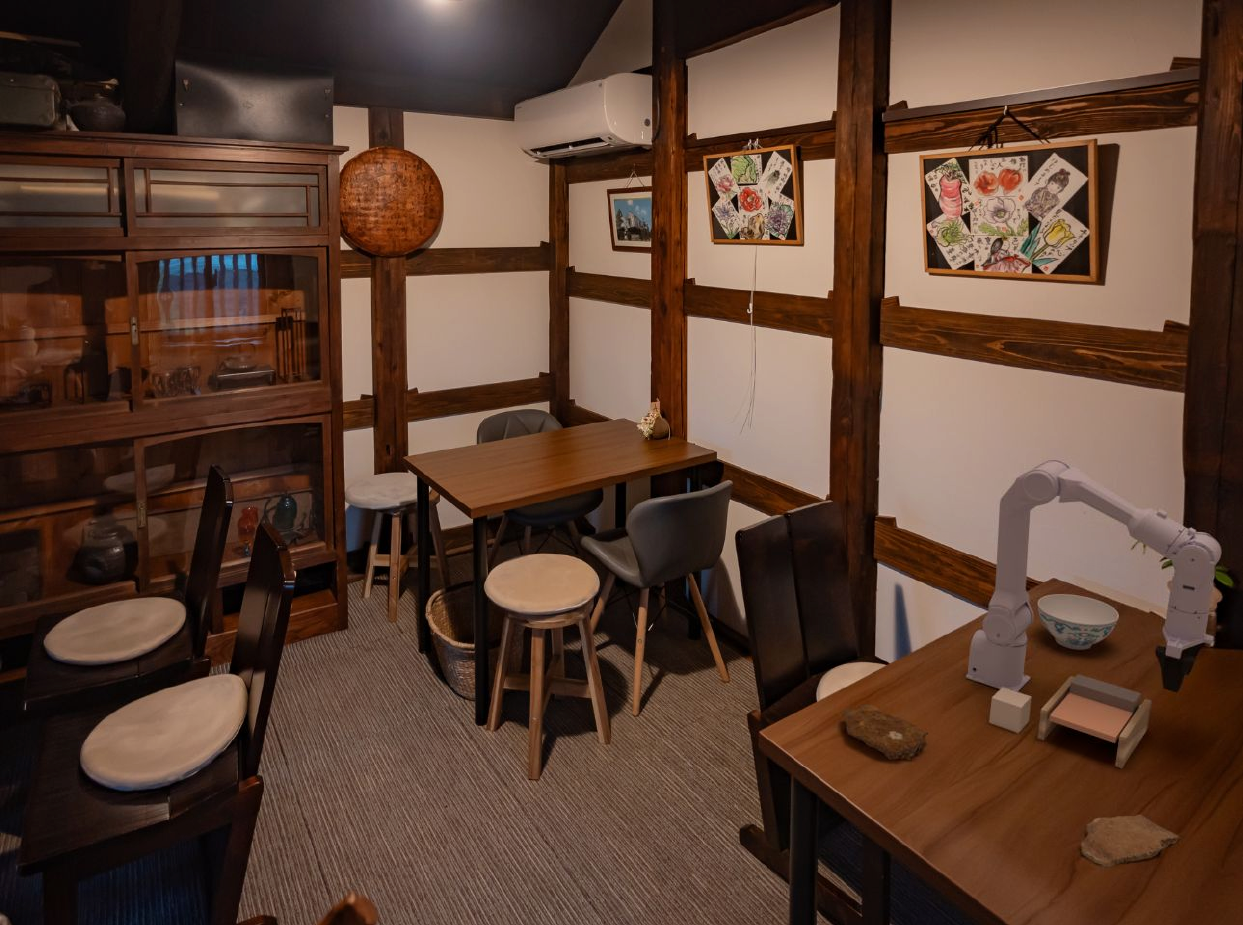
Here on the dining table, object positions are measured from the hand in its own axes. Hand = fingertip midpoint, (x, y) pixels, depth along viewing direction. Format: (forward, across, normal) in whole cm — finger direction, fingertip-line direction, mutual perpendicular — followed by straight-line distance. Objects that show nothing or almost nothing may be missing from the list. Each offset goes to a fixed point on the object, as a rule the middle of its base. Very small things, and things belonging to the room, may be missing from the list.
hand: (1176, 681), depth 147 cm
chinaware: (+10, +26, +23) cm, 36 cm away
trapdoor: (+6, -9, +9) cm, 14 cm away
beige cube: (+10, -14, +22) cm, 28 cm away
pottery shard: (+11, -35, -2) cm, 37 cm away
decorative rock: (+11, -34, +36) cm, 51 cm away
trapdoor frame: (+10, -8, +9) cm, 16 cm away
